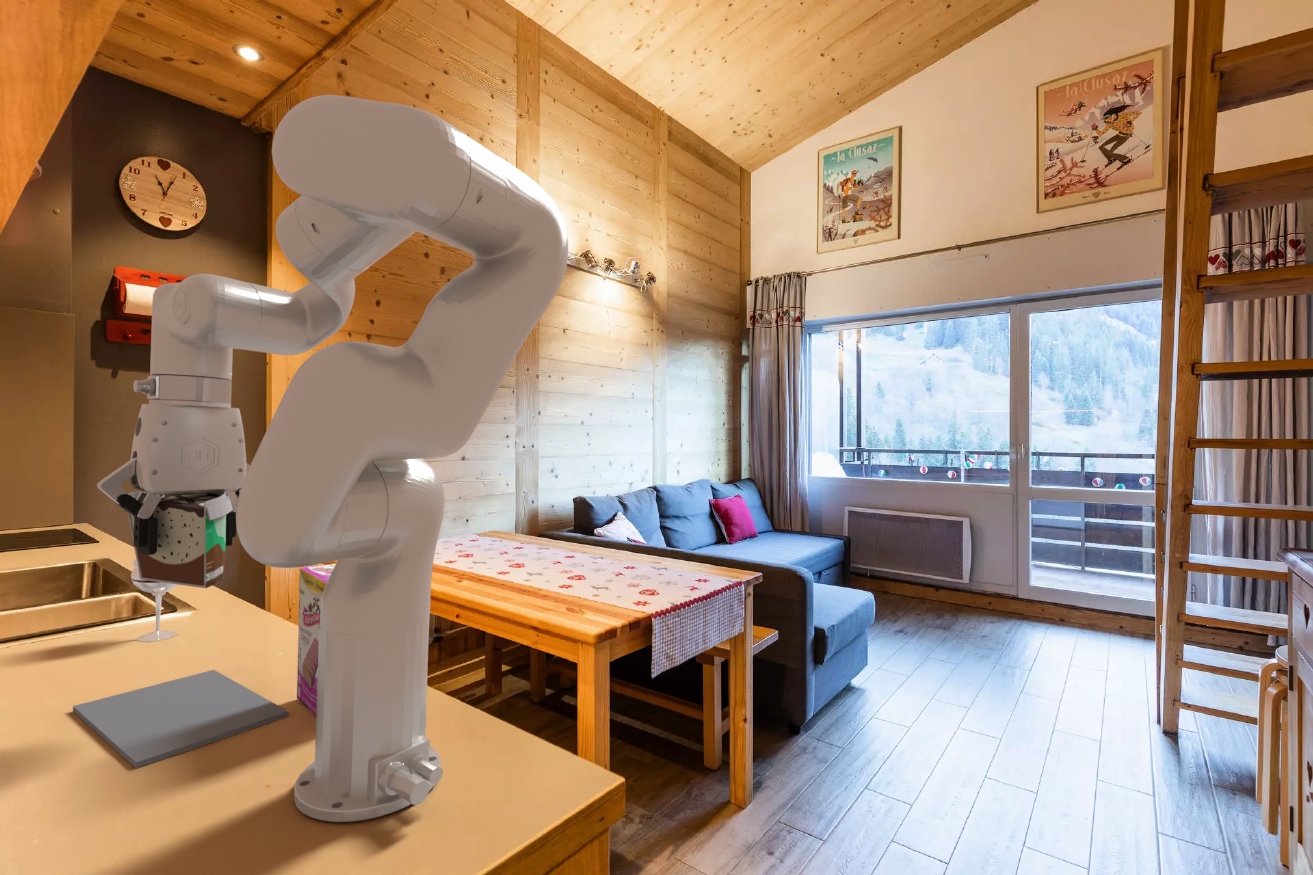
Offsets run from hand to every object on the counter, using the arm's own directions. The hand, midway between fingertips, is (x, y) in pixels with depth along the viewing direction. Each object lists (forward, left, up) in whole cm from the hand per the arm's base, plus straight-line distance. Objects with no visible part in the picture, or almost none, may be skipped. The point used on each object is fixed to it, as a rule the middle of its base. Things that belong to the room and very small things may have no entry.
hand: (187, 547), depth 71 cm
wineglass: (+33, -8, -19) cm, 39 cm away
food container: (+1, -1, -4) cm, 4 cm away
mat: (0, 0, -19) cm, 19 cm away
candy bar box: (-12, -11, -19) cm, 25 cm away
